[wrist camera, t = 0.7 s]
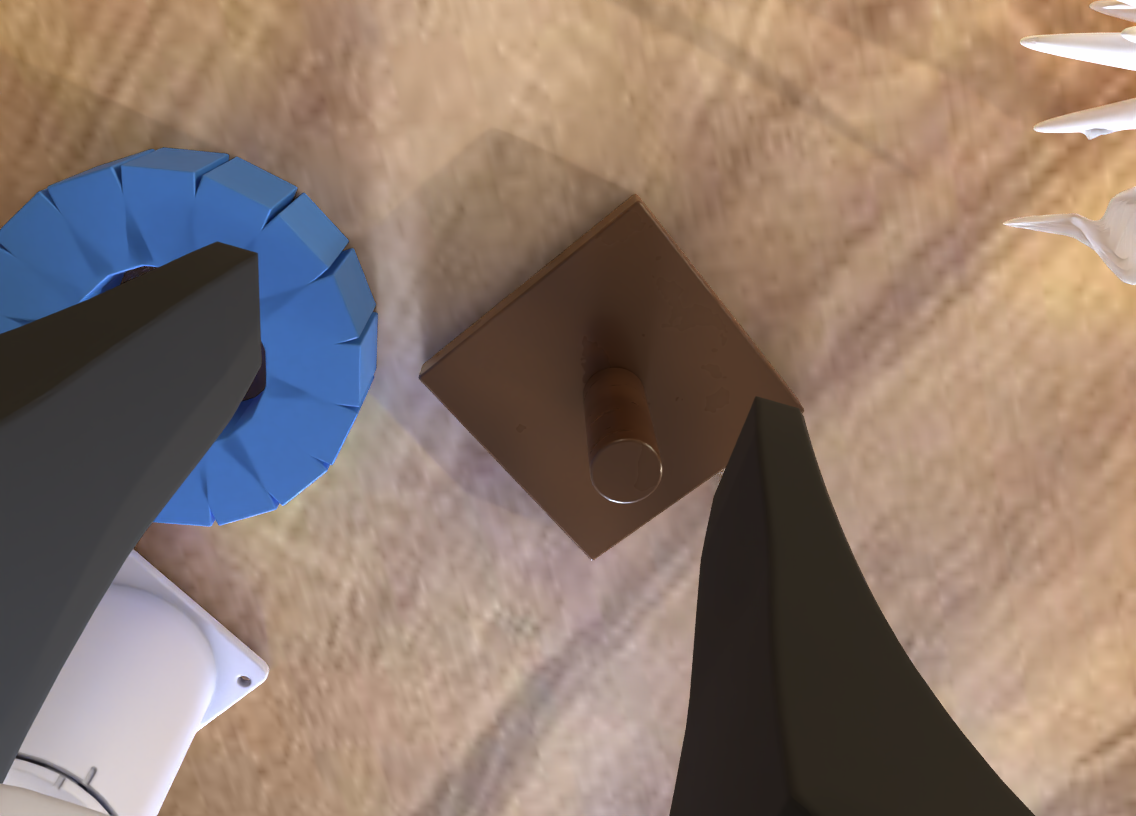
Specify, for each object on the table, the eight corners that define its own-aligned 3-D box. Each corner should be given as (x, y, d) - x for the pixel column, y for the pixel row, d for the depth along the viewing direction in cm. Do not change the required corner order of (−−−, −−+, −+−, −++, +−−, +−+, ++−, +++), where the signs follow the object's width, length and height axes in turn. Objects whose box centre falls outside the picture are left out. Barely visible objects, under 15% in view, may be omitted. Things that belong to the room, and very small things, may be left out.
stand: (590, 544, 35) (599, 662, 29) (421, 365, 33) (392, 453, 26) (797, 397, 33) (854, 491, 27) (635, 191, 30) (658, 243, 24)
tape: (213, 536, 35) (183, 586, 32) (-48, 303, 31) (-109, 336, 28) (448, 347, 32) (438, 383, 29) (191, 69, 29) (151, 79, 26)
